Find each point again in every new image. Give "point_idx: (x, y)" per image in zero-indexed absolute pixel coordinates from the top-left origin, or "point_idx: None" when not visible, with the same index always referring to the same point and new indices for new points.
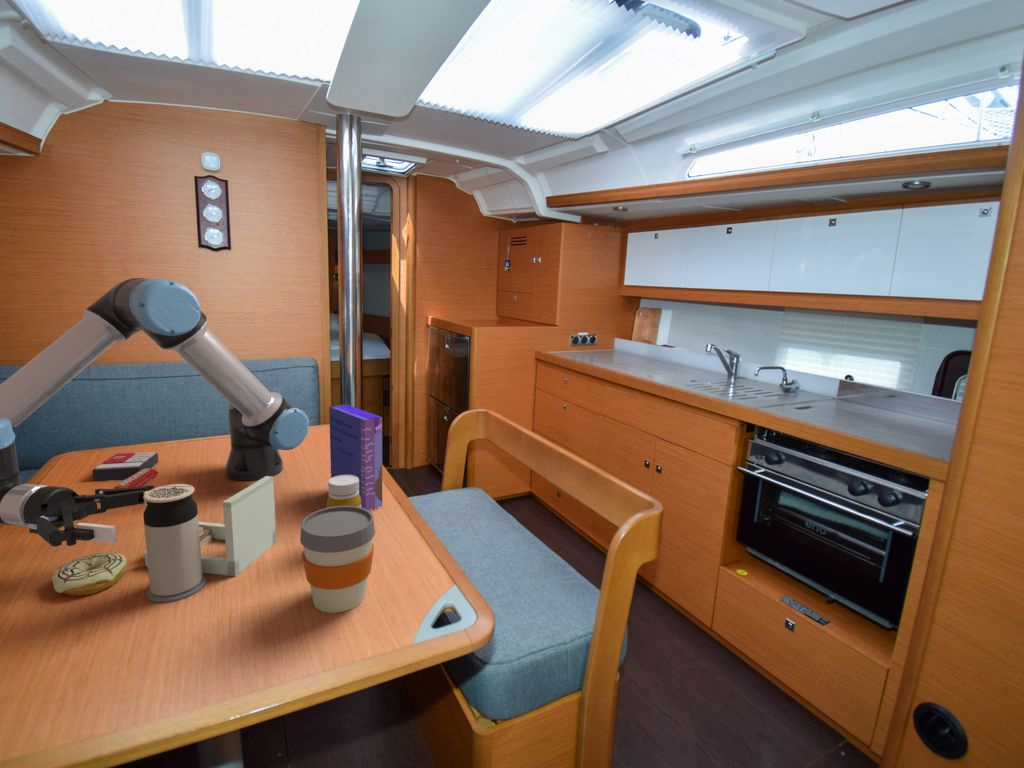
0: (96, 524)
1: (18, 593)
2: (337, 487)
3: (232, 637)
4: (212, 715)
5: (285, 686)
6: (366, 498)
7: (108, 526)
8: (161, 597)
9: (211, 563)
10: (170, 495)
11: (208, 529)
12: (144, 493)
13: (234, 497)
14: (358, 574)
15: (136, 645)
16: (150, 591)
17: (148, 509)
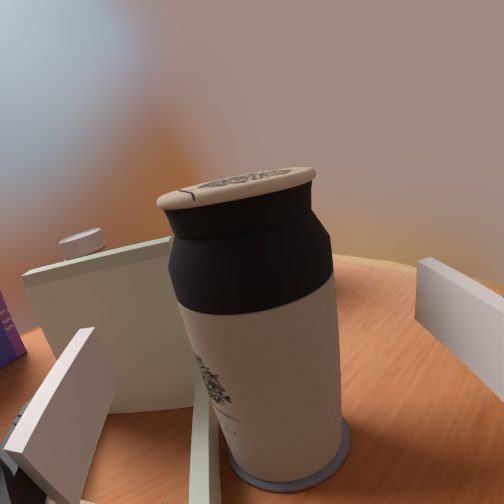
0: (473, 292)
1: None
2: (101, 233)
3: (341, 308)
4: (405, 266)
5: (356, 261)
6: (17, 332)
7: (436, 266)
8: None
9: (211, 411)
10: (260, 173)
11: (49, 502)
12: (27, 453)
13: (141, 245)
14: None
15: (424, 353)
16: (333, 459)
17: (313, 217)
